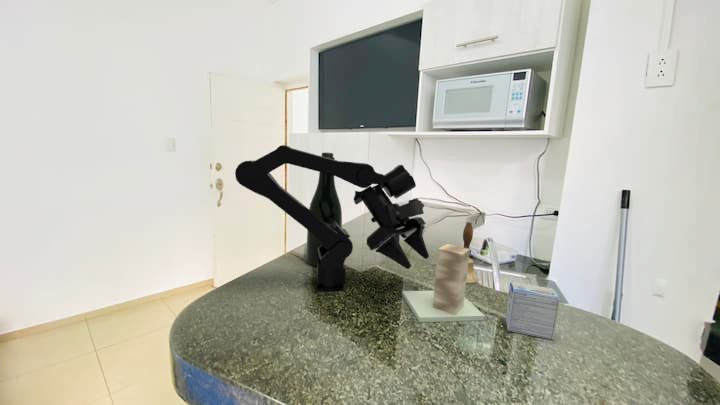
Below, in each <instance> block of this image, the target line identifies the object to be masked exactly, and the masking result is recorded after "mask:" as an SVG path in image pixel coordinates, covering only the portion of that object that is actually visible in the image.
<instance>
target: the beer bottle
mask: <svg viewBox="0 0 720 405" xmlns="http://www.w3.org/2000/svg"><path fill="white" fill-rule="evenodd" d="M321 156H322V157H326V158H329V159H333V160H336V159H335V157H334V153H333V152H322V153H321ZM318 174H319V175H318V181H317V182H318V183H317V186H316V189H315V191H314V194H313V197H312V198H311V201H310V204H309V208H308V209H309V210H310V211H312V212H313V213H314V214H315V215H316V216H318V217H319V218H320V219H321V220H323V221H324V222H326V223H328V224H330V225H331V224H332V223H333V221H335V222H336V223H337V224H338V225H339V226H340V227H341V228H343V215H342V214H343V213H342V212H343V210H342V206H341V201H340V197H339V195H338V192H337V189H336V188H337V187H336V182H335V176H334V175H330V174H326V173H322V172H318ZM306 231H307V232H306V254H305V258H306V262H307V263H308V264H309V265H311V266H313V267H314V266H315V267H317V265H318V259H320V257H319V253H318V248H319V247H320V246H321V245H322V244H321V243H320V241H319V240H318V239H317V237H316V236H315V235H314V234H312V233H311V232H310V231H308V230H307V229H306Z"/></svg>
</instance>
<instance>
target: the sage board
mask: <svg viewBox="0 0 720 405" xmlns="http://www.w3.org/2000/svg"><path fill="white" fill-rule="evenodd" d="M401 296H402V297H403V299H404V300H405V302H406V303H407V305H408V307H409V308H410V309H411V312H412V313H413V314H414V317H415V318H416V319H417V320H418V322H419V323H439V322H445V323H447V322H470V321H471V322H472V321H485V314H483V313H482V312H481V311H480V310H479V309H478V308H477V307H476V306H475V305H473V303H471V302H470V301H469V300H468V298H466V297H465V298H464V307H463V308H462V309H461V310H460V311H459V312H458V313H457V315H453V314H450V313H448V312H445V311H442V310H439V309H436V308H433V299H434V290H403V291H402V292H401Z"/></svg>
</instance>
